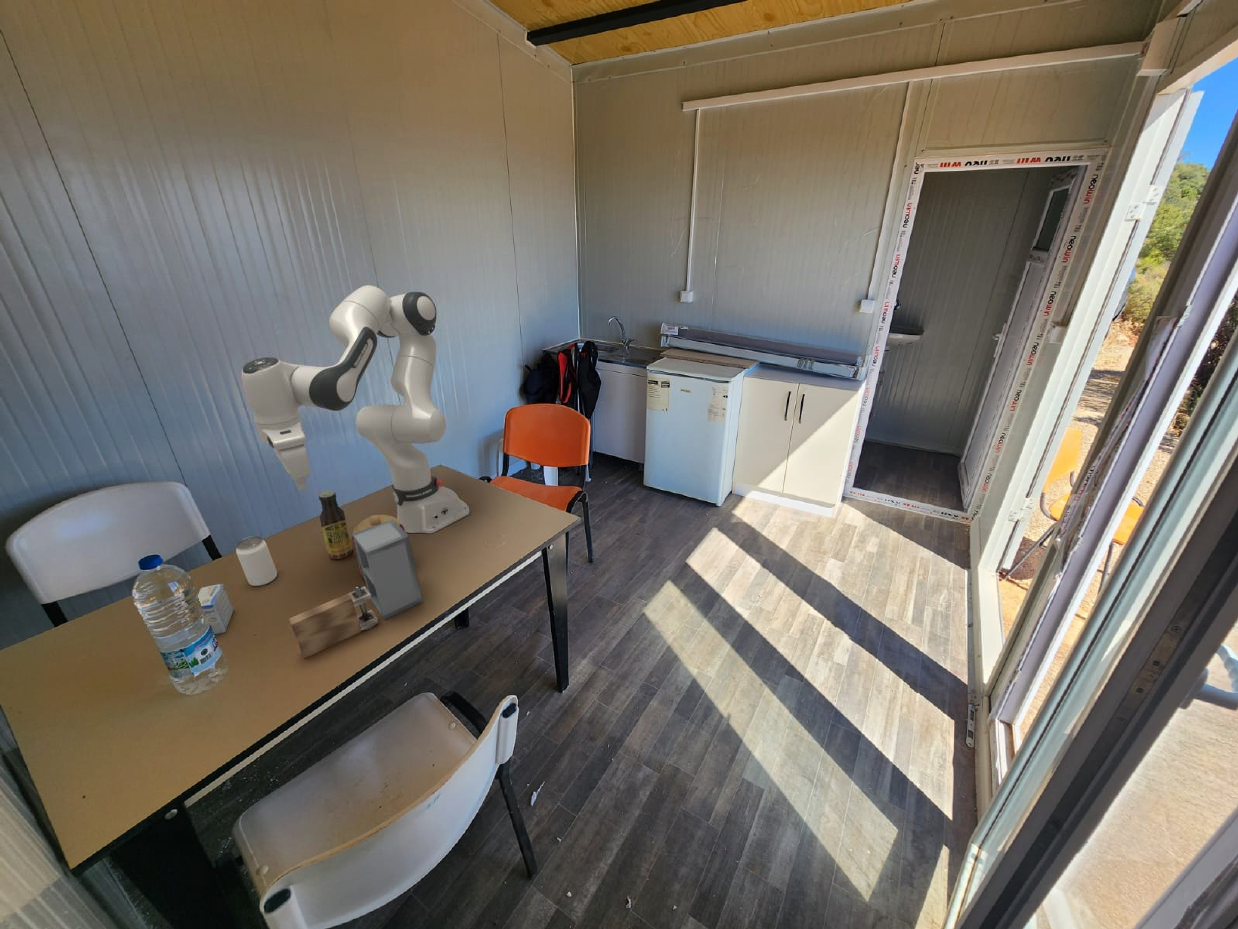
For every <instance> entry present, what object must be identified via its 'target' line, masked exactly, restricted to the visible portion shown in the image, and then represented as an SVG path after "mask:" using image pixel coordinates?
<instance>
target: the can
mask: <svg viewBox="0 0 1238 929" xmlns="http://www.w3.org/2000/svg"><path fill="white" fill-rule="evenodd" d="M235 545H236V546H235V547H236V550H235V552H236V555H237V558H238V560H239V563H240V565H241V569H242V570H243V573H244V575H245V577H246V580H247V582H248V584H249V585H250V586H253V587H260V586H261V587H262V586H265V585H267V584H270V583H271V582H273V581H274V580H275V579H276V577H277V576H278V572H277V569H276V566H275V564H274V563H275V562H274V560H273V558H272V555H271V553H270V549H269V547H268V545H267V543H266V541H265V540H264V539H263V537H261V536H260V535H253V536H248V537H245V538H243V539H241V540H240V541H238V542H237V543H236V544H235Z"/></svg>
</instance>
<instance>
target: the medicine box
mask: <svg viewBox="0 0 1238 929" xmlns="http://www.w3.org/2000/svg"><path fill="white" fill-rule="evenodd" d="M197 596H198V598H199V601H200V603H201V606H202V609H203V611H204V613H205V614H206V617H207V619H209V623H210V625H211V626H212V628H213V631H214V632H215V635H218V634H223V633H226V631H227V629H228V626H229V625H230V624H229V623H230V620H231V619H232V616H233V613H234V610H235V609H234V607H233V605H232V602H231V600H230V597H229V595H228V592H227V590H226V588H225V585H224V584H223V583H218V584H214V585H209V586H204V587H201V588H200V589H199V592H198V594H197Z"/></svg>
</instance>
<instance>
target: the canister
mask: <svg viewBox="0 0 1238 929" xmlns="http://www.w3.org/2000/svg"><path fill="white" fill-rule="evenodd" d="M392 519H393V520H394V521H395V522H396V523H397V524H398V525H399V526H400V527H401V528H402V530H403V531H404V532H405V528H404V526H403V525H402V524H400V522H399V520H398V519H397V517H395V516H394V515H393V516H392V515H387V514H373V515H371V516H369V517H366V518H364V519H363V520H362V521H361V522H359V523H358V524H357V525H355V527H354V528H353V530H352V534H353V533H356V532H359V531H361V530H364V529H367V528H370V527H373V526H376V525H378V524H381V523H384V522H387V521H390V520H392ZM405 533H406V532H405ZM351 544H352V546H353V547H354V554H355V557H356V560H357V563H358V567H359V568H358V569H359V573H360V575H361V577H362V579H363V580H364V581H365V578H364V574H363V571H362V567H361V563H360V560H359V556H358V552H357V549H356V545H355V541H354V538H353V536H352V537H351Z"/></svg>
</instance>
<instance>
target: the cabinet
mask: <svg viewBox="0 0 1238 929" xmlns="http://www.w3.org/2000/svg"><path fill="white" fill-rule="evenodd" d="M352 537H353V538H354V541H355V545H356V549H357V552H358V556H359V560H360V563H361V567H362V571H363V574H364V578H365V580H364V581H365V584H366V588H367V590H368V591H369V593H370V594H371V597H372V600H370V601H371V602H372V604H373V606H374V607H375V608H376V610H377V611H378V612H379V614H380V616H381V617H382V619H383V620H385V621H386V620H388V619H389V618H391V617H394V616H396V615H398V614H400V613H402V612H404V611H407V610H409V609H411V608H413V607H415V606H417V605H419V604H421V603H423V596H422V591H421V587H420V582H419V578H418V573H417V569H416V568H417V567H416V563H415V558H414V553H413V549H412V544H411V539H410V536H409V535H408V534H407V532H404V531H403V530H402V528H401V527H400V526H399V525H398V524H397V523H396V522H395V521H394V520H393V519H392V520H390V521H387V522H384V523H381V524H378V525H376V526H373V527H370V528H367V529H364V530H361V531H359V532H356V533H353V532H352Z"/></svg>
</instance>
